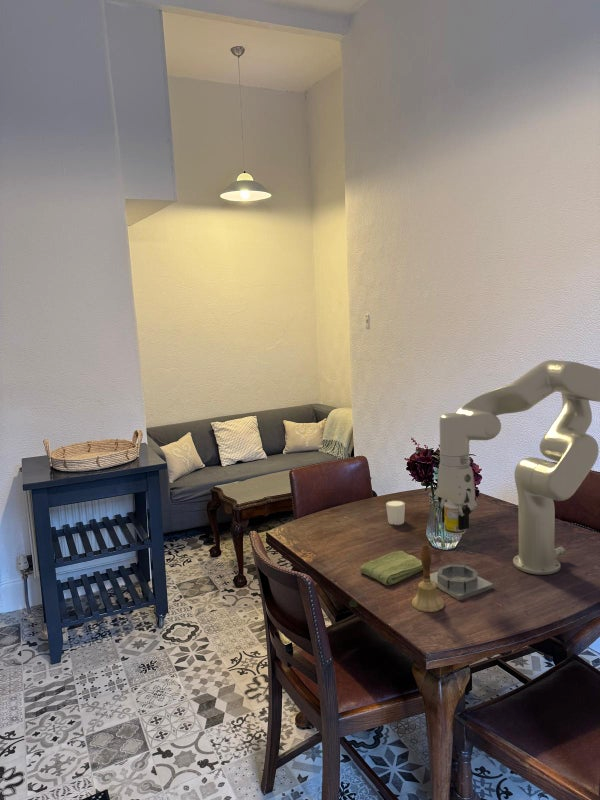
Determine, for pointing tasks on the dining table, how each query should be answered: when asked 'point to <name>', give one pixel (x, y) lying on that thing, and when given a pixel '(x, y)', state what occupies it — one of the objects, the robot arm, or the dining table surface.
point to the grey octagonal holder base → (459, 581)
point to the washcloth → (392, 567)
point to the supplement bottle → (452, 518)
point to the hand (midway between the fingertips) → (455, 524)
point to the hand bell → (427, 587)
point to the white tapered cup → (395, 512)
